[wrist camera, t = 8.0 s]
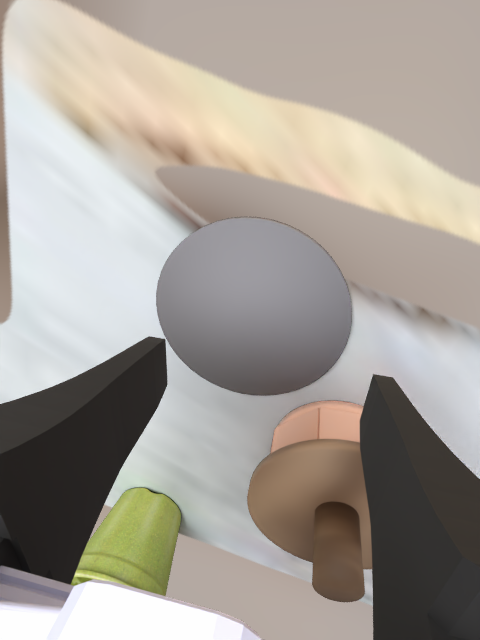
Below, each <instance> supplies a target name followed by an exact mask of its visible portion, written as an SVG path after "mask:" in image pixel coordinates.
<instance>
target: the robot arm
mask: <svg viewBox="0 0 480 640" xmlns="http://www.w3.org/2000/svg"><path fill="white" fill-rule="evenodd" d="M166 387H167V365H166V343H165V339H161V338H155V337H147V338H145V339H144V340H142V341H140V342H138V343H136V344H135V345H133V346H131V347H130V348H128V349H126V350H124V351H123V352H121V353H119V354H117V355H116V356H114V357H112V358H110V359H109V360H107V361H105V362H103V363H101V364H99V365H98V366H96V367H94V368H92V369H90V370H88V371H86V372H84V373H82V374H80V375H78V376H76V377H74V378H72V379H69V380H67V381H65V382H63V383H60V384H58V385H55V386H53V387H50V388H48V389H45V390H43V391H40V392H37V393H34V394H31V395H28V396H25V397H22V398H19V399H16V400H13V401H10V402H6V403H3V404H0V640H263V639H260V637H259V635H258V634H257V632H255V631H254V630H253V629H251V628H250V627H249V626H248V625H246V624H245V623H244V622H243V621H242V620H239V619H237V618H235V617H232V616H230V615H227V614H225V613H223V612H220V611H217V610H213V609H210V608H206V607H202V606H199V605H195V604H192V603H188V602H185V601H180V600H177V599H173V598H170V597H166V596H163V595H159V594H156V593H152V592H148V591H145V590H141V589H138V588H134V587H130V586H127V585H123V584H119V583H116V582H111V581H104V580H96V579H92V580H89V581H87V582H84V583H81V584H78V585H76V586H73V585H71V583H72V580H73V578H74V575H75V572H76V570H77V567H78V565H79V562H80V560H81V557H82V555H83V552H84V550H85V547H86V545H87V543H88V540H89V538H90V535H91V533H92V531H93V528H94V526H95V524H96V521H97V519H98V517H99V515H100V512H101V510H102V508H103V506H104V503H105V501H106V499H107V497H108V495H109V492H110V490H111V488H112V486H113V484H114V482H115V480H116V478H117V476H118V474H119V471H120V469H121V468H122V466H123V464H124V462H125V460H126V459H127V457H128V455H129V454H130V452H131V450H132V449H133V447H134V446H135V444H136V442H137V441H138V439H139V437H140V436H141V434H142V432H143V431H144V429H145V428H146V426H147V424H148V423H149V421H150V419H151V418H152V416H153V414H154V413H155V411H156V409H157V407H158V405H159V403H160V401H161V398H162V396H163V394H164V391H165V389H166ZM360 452H361V459H362V466H363V473H364V480H365V487H366V494H367V501H368V508H369V515H370V525H371V545H372V574H373V628H374V630H373V640H480V479H479V478H478V477H477V476H476V475H474V474H473V473H472V472H471V471H470V470H469V469H468V468H467V467H466V466H465V465H464V464H463V463H462V462H461V461H460V460H459V459H458V458H457V457H456V456H455V455H454V454H453V453H452V452H451V451H450V449H449V448H448V447H447V446H446V445H445V444H444V443H443V442H442V440H441V439H440V438H439V437H438V436H437V435H436V434H435V432H434V431H433V430H432V429H431V428H430V427H429V425H428V424H427V423H426V422H425V420H424V419H423V418H422V417H421V415H420V414H419V413H418V411H417V410H416V409H415V407H414V406H413V405H412V403H411V402H410V401H409V399H408V398H407V397H406V395H405V394H404V392H403V391H402V390H401V388H400V387H399V385H398V384H397V383H396V381H395V380H394V379H393V378H392V377H386V376H380V375H374V374H373V377H372V381H371V384H370V387H369V391H368V394H367V397H366V401H365V404H364V407H363V411H362V414H361V418H360Z"/></svg>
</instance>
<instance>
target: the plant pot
mask: <svg viewBox="0 0 480 640" xmlns="http://www.w3.org/2000/svg"><path fill="white" fill-rule="evenodd" d="M180 522H181V513H180V510H179V508H178V507H177V505H176V504H175V503H174V502H173V501H172V500H171V499H170V498H168V497H167V496H165V495H163V494H155V493H152V492H150V491H149V490H148V489H146V488H133V489H130V490H127V491H126V492H124V493H123V494H122V496H121V497H120V498H119V500H118V501H117V502H116V504H115V505H114V507H113V508H112V510H111V511H110V512H109V514H108V515H107V517H106V518H105V519H104V521H103V522H102V523H101V525H100V526H99V528H98V529H97V530H96V532H95V533H94V535H93V536H92V537H91V539H90V540H89V541H88V543H87V545H86V547H85V550H84V552H83V555H82V557H81V560H80V562H79V565H78V567H77V570H76V572H75V575H74V578H73V580H72V583H71V585H73V586H76V585H78V584H81V583H84V582H87V581H89V580H92V579H96V580H104V581H111V582H116V583H119V584H123V585H127V586H130V587H134V588H138V589H141V590H145V591H148V592H152V593H156V594H159V595H163V596H165V595H166V590H167V585H168V580H169V575H170V570H171V565H172V560H173V555H174V551H175V545H176V541H177V537H178V532H179V527H180Z"/></svg>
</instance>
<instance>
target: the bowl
mask: <svg viewBox="0 0 480 640" xmlns="http://www.w3.org/2000/svg"><path fill="white" fill-rule="evenodd" d="M363 407H364V406H361V405H358V404H354V403H350V402H344V401H319V402H313V403H309V404H306V405H303V406H301V407H298V408H296V409H294V410H293V411H291V412H290V413H288V414H287V415H286V416H285V417H284V418H283V419H282V420H281V421H280V423H279V424H278V426H277V427H276V428H275V430H274V436H273V441H272V447H271V453H273V452H274V451H276V450H278V449H280V448H282V447H285V446H287V445H290V444H293V443H297V442H301V441H307V440H314V439H341V440H349V441H355V442H359V443H360V418H361V414H362V411H363ZM271 453H270V454H271Z"/></svg>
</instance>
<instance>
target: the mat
mask: <svg viewBox="0 0 480 640" xmlns="http://www.w3.org/2000/svg"><path fill="white" fill-rule="evenodd" d="M156 305H157V313H158V318H159V321H160V325H161V328H162V330H163V333H164V335H165V337H166V339H167V341H168V342H169V344H170V346H171V347H172V349H173V350H174V351H175V353H176V354H177V355H178V357H179V358H180V359H181V360H182V361H183V362H184V363H185V364H186V365H187V366H188V367H189V368H190V369H192V370H193V371H194V372H195V373H197V374H198V375H200V376H201V377H203V378H204V379H206V380H208V381H209V382H211V383H213V384H215V385H218V386H220V387H222V388H225V389H228V390H231V391H234V392H239V393H243V394H250V395H277V394H282V393H287V392H291V391H294V390H297V389H300V388H302V387H304V386H307V385H309V384H310V383H312V382H314V381H315V380H317V379H319V378H320V377H321V376H322V375H324V374H325V373H326V372H327V371H328V370H329V369H330V368H331V367H332V366H333V365H334V364H335V362H336V361H337V360H338V358H339V357H340V355H341V354H342V352H343V350H344V348H345V346H346V343H347V340H348V337H349V334H350V328H351V322H352V308H351V301H350V294H349V291H348V287H347V284H346V281H345V279H344V277H343V275H342V273H341V271H340V269H339V267H338V266H337V264H336V263H335V261H334V260H333V258H332V257H331V256H330V255H329V254H328V253H327V251H326V250H325V249H324V248H323V247H322V246H321V245H319V244H318V243H317V242H316V241H315V240H313V239H312V238H311V237H309V236H308V235H306V234H305V233H303V232H302V231H300V230H298V229H296V228H294V227H292V226H290V225H287V224H284V223H281V222H278V221H275V220H271V219H265V218H260V217H235V218H228V219H224V220H219V221H216V222H213V223H211V224H208V225H206V226H204V227H202V228H200V229H198V230H197V231H195V232H193V233H192V234H191V235H190V236H188V237H187V238H186V239H184V240H183V241H182V242H181V243H180V244H179V245H178V246H177V247H176V248H175V249H174V250H173V252H172V253H171V255H170V256H169V258H168V259H167V261H166V263H165V265H164V267H163V269H162V271H161V274H160V277H159V280H158V286H157V292H156Z"/></svg>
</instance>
